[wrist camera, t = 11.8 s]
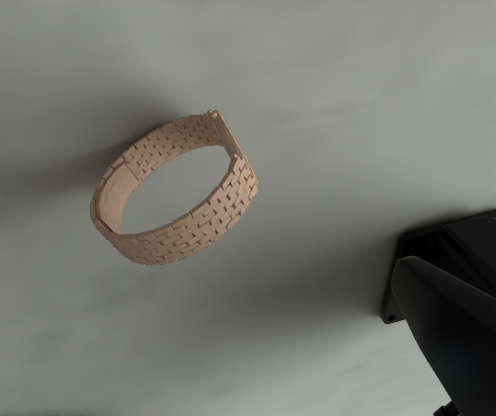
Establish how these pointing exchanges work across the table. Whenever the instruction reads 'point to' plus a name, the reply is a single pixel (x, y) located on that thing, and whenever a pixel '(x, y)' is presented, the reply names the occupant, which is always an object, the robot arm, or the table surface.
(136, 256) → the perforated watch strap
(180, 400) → the table surface
